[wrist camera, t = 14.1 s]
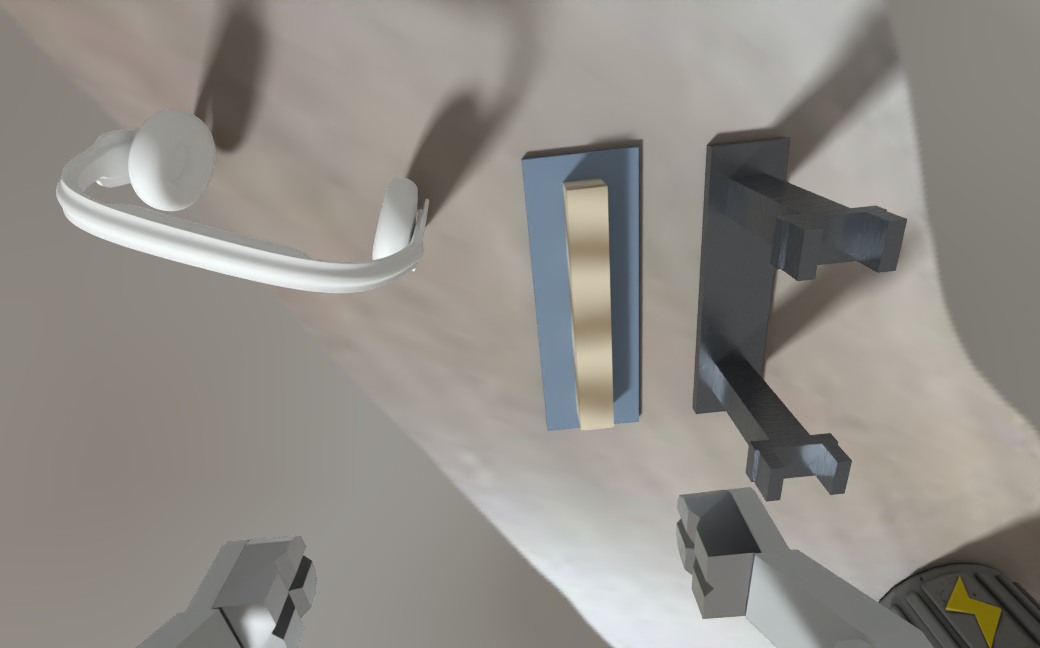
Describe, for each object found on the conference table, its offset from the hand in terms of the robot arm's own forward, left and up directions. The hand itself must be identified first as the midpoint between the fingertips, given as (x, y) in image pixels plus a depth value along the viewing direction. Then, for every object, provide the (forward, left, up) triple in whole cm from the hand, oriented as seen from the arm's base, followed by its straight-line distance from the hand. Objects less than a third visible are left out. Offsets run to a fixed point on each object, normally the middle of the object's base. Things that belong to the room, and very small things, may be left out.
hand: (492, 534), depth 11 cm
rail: (+11, +7, -34) cm, 36 cm away
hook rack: (+11, +20, -34) cm, 41 cm away
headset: (-2, -14, -35) cm, 38 cm away
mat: (+11, +7, -34) cm, 37 cm away
